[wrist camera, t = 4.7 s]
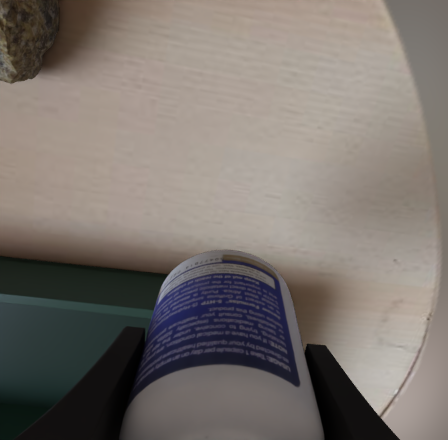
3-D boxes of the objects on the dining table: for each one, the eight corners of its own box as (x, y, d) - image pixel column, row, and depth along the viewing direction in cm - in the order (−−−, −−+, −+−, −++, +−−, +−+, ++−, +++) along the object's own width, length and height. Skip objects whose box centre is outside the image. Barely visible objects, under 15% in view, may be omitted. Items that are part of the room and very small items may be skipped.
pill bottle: (131, 287, 15) (12, 574, 7) (246, 221, 14) (268, 473, 5) (207, 373, 17) (186, 681, 8) (315, 321, 15) (409, 625, 7)
